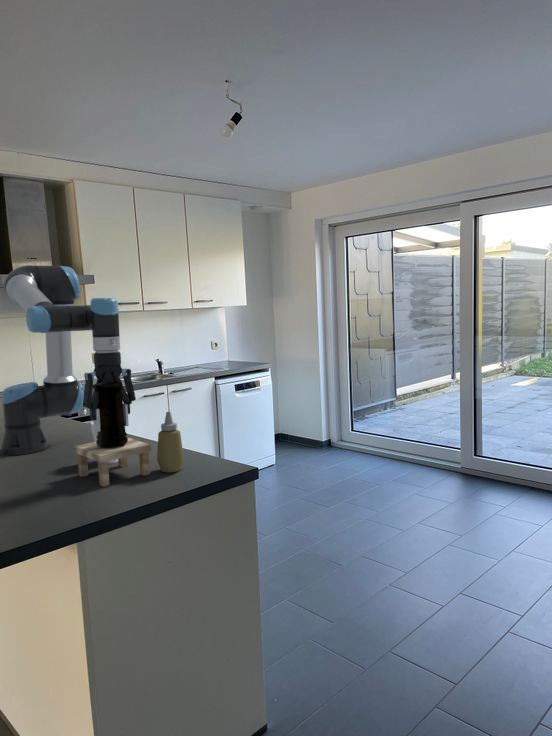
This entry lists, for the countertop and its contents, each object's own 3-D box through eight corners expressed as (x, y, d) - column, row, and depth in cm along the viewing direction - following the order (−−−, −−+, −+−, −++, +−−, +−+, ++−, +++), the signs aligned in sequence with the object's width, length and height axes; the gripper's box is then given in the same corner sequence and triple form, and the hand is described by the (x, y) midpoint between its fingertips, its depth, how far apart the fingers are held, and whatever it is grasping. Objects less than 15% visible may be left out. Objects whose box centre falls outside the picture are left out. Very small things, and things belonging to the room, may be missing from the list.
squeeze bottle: (189, 467, 170) (186, 410, 168) (176, 475, 162) (173, 415, 160) (166, 465, 173) (163, 409, 170) (152, 473, 165) (149, 414, 163)
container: (100, 440, 167) (95, 381, 165) (130, 438, 168) (125, 380, 165) (93, 448, 158) (87, 386, 156) (124, 446, 159) (119, 385, 156)
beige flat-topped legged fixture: (76, 475, 164) (74, 446, 163) (124, 463, 175) (123, 436, 174) (101, 487, 153) (100, 455, 152) (152, 474, 164) (150, 444, 163)
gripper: (77, 355, 150) (83, 436, 153) (145, 349, 165) (149, 423, 167) (65, 353, 155) (71, 432, 158) (132, 348, 170) (136, 420, 173)
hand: (111, 427), depth 163 cm, fingers open, 8 cm apart
